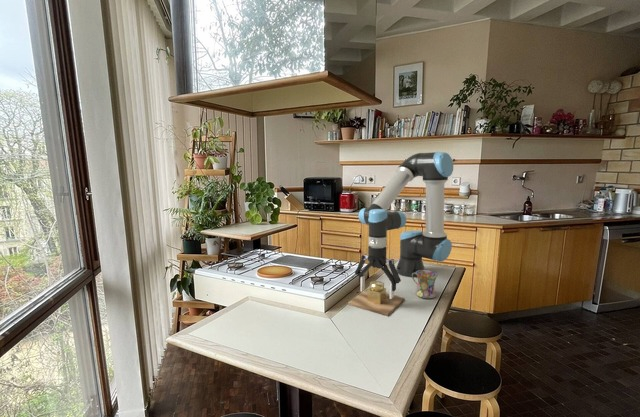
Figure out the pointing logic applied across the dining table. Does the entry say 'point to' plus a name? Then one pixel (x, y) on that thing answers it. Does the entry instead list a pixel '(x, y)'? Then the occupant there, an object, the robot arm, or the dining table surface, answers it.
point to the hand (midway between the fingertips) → (376, 294)
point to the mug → (425, 283)
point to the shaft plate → (382, 308)
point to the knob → (376, 292)
